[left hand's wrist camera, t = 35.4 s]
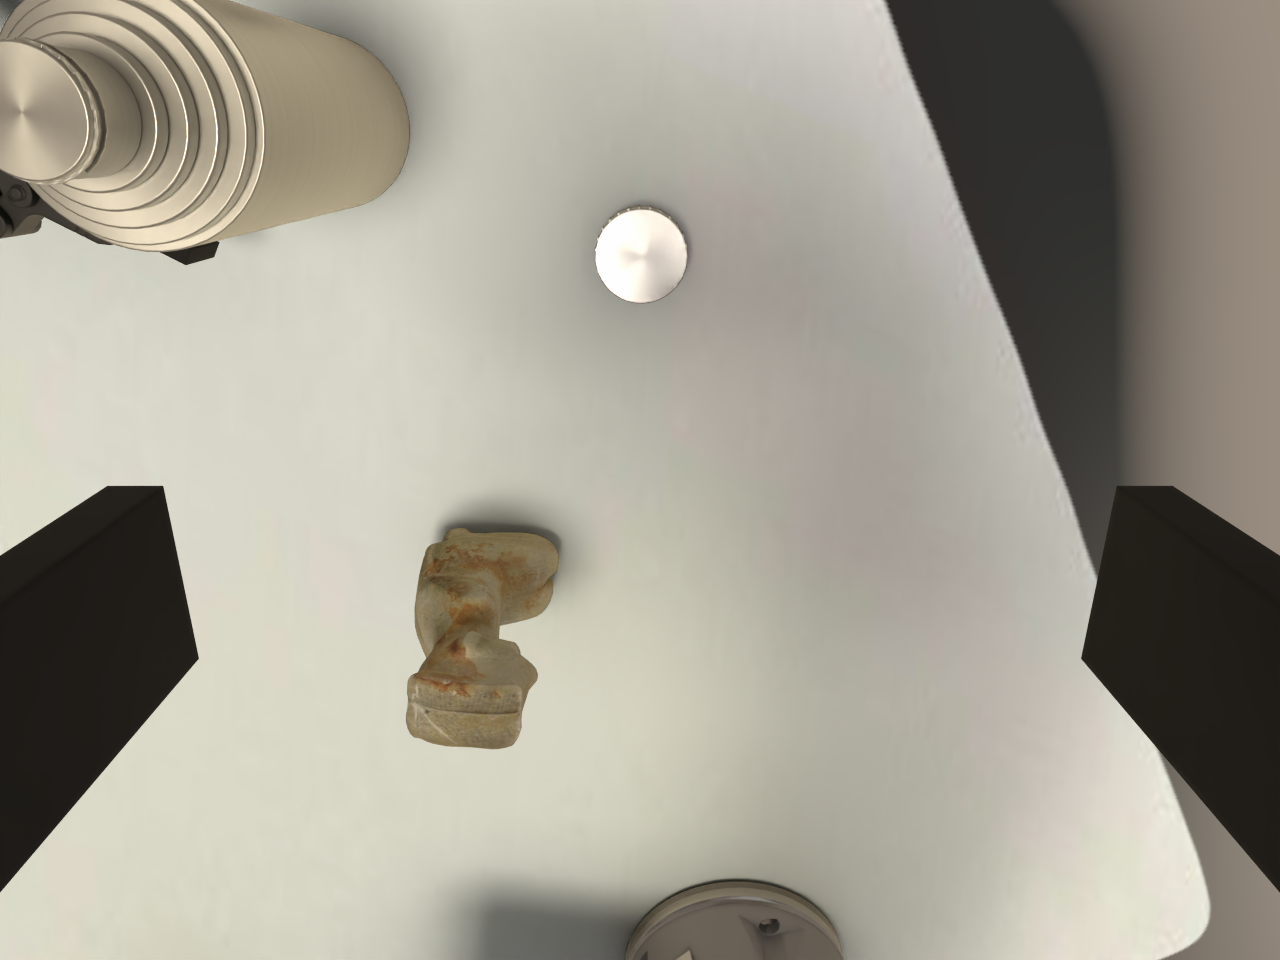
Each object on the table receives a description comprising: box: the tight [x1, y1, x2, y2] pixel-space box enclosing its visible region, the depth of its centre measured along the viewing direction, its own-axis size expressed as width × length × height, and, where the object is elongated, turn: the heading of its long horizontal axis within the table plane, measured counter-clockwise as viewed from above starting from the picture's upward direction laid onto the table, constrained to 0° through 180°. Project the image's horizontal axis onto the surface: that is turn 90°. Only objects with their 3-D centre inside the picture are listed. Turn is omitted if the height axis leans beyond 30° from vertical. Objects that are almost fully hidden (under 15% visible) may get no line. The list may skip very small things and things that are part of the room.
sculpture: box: [406, 528, 559, 749], centre depth 44 cm, size 6×7×15 cm
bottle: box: [0, 0, 410, 252], centre depth 32 cm, size 8×8×23 cm
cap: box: [595, 205, 688, 303], centre depth 44 cm, size 5×5×2 cm
